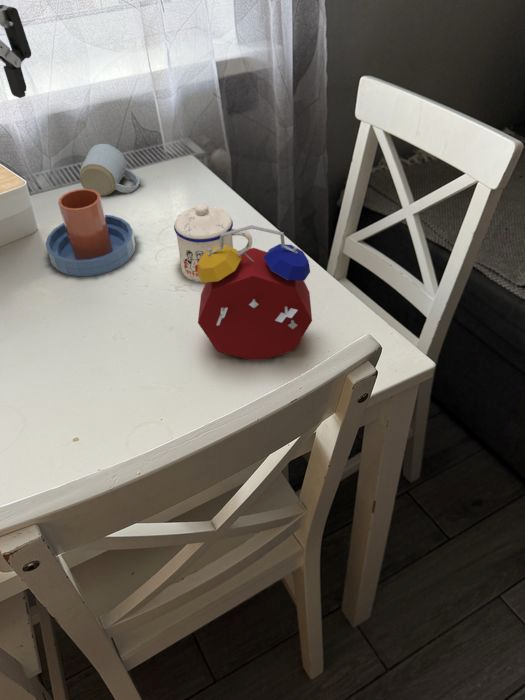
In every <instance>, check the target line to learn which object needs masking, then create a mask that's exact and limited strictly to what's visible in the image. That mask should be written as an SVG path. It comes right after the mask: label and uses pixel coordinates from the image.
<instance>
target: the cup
mask: <svg viewBox="0 0 525 700" xmlns="http://www.w3.org/2000/svg"><path fill="white" fill-rule="evenodd" d="M58 207H59V210H60V214H61V217H62V221H63V223H64V224H65V228H66V231H67V235H68V238H69V241H70V245H71V248H72V252H73V254H74V257H75V258H76V259H77V260H84V259H93V258H97V257H101V256H104V255H107V254H109V253H111V252H112V243H111V238H110V234H109V230H108V226H107V221H106V217H105V215H106V214H105V209H104V205H103V200H102V196H100V194H99V193H98V192H97V191H94V190H91V189H84V188H79V189H78V188H77V189H73V190H70V191H68V192H66V193H63V194H62V195H61V197H59V198H58Z"/></svg>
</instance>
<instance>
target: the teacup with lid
mask: <svg viewBox="0 0 525 700" xmlns="http://www.w3.org/2000/svg"><path fill="white" fill-rule="evenodd" d="M233 226H234V222H233V219H232V217H231V216H230V214H229V213H228V212H227V211H225V210H224V209H221V208H218V207H214V206H208V205H207V204H205V203H200V204H197V205H196V206H195V207H192V208H190V209H186V210H185V211H183V212H181V213H180V214H179V215H178V216H177V218H176V219H175V221H174V225H173V230H174V232H175V234H176V240H177V248H178V253H179V259H180V268H181V273H182V274H183V276H184V277H185V278H186V279H188V280H191V281H192V282H195V283H202V281H201V280H200V278H199V276H198V275H197V269H198V262H199V260H200V259H201V257H202V255H203V254H204V253H205V252H207V251H208V249H209V248H211V249H212V248H213V247H215V246H220V234H222V233H225V232H229V231H233V230H236V229H237V228H233ZM233 236H241V237H244V238H246V240H247V244H246V246H245V247H247V249H248V250H249V249H251V248H253V247H252V246H253V236H252V235H251V233H250V231H247V230H244V231H241V232H237V233H233V234H230V235H226V236H224V245H227V246H229V247H232V248H234V244H233V243H234V242H233ZM241 250H242V249H241ZM241 250H237V251H238V252H239V251H241ZM204 283H206V282H204Z"/></svg>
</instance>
